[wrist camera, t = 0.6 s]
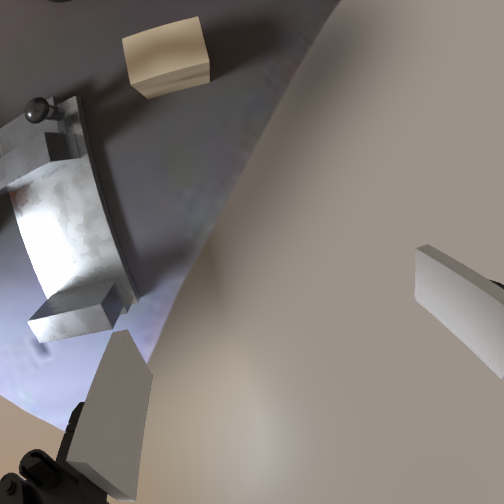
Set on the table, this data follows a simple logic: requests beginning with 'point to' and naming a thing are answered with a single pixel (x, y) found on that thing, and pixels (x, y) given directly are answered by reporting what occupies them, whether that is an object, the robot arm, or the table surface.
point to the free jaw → (35, 144)
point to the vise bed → (73, 244)
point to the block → (167, 58)
